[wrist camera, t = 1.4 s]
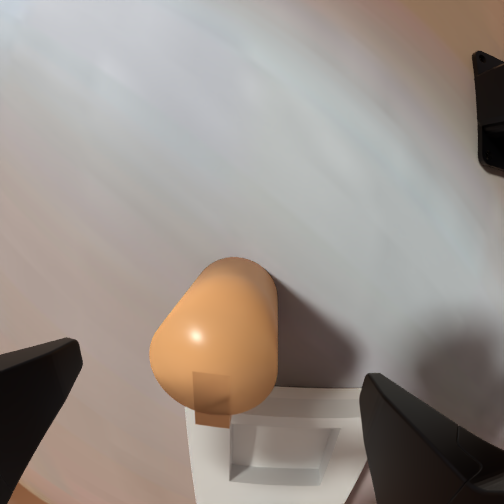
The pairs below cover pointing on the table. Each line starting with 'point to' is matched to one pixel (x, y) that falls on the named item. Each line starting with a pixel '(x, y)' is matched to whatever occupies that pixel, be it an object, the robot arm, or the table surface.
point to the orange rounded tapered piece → (220, 342)
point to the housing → (281, 450)
